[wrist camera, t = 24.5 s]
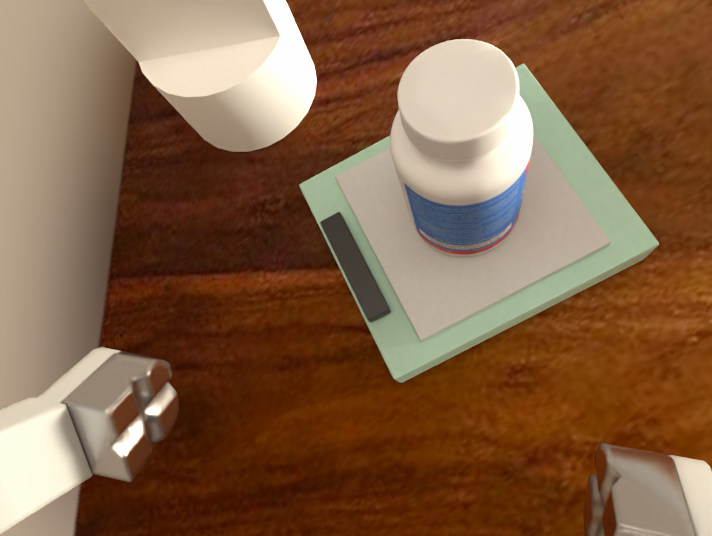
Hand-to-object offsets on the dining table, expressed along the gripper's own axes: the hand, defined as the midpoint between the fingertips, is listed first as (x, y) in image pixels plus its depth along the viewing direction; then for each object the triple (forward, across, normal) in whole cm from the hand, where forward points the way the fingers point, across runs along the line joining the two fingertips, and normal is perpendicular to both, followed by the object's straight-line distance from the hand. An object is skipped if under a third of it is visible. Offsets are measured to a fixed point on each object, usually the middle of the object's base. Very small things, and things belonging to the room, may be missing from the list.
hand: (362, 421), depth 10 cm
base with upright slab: (+26, +15, 0) cm, 30 cm away
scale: (+20, 0, +5) cm, 21 cm away
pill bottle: (+18, 0, +3) cm, 19 cm away
